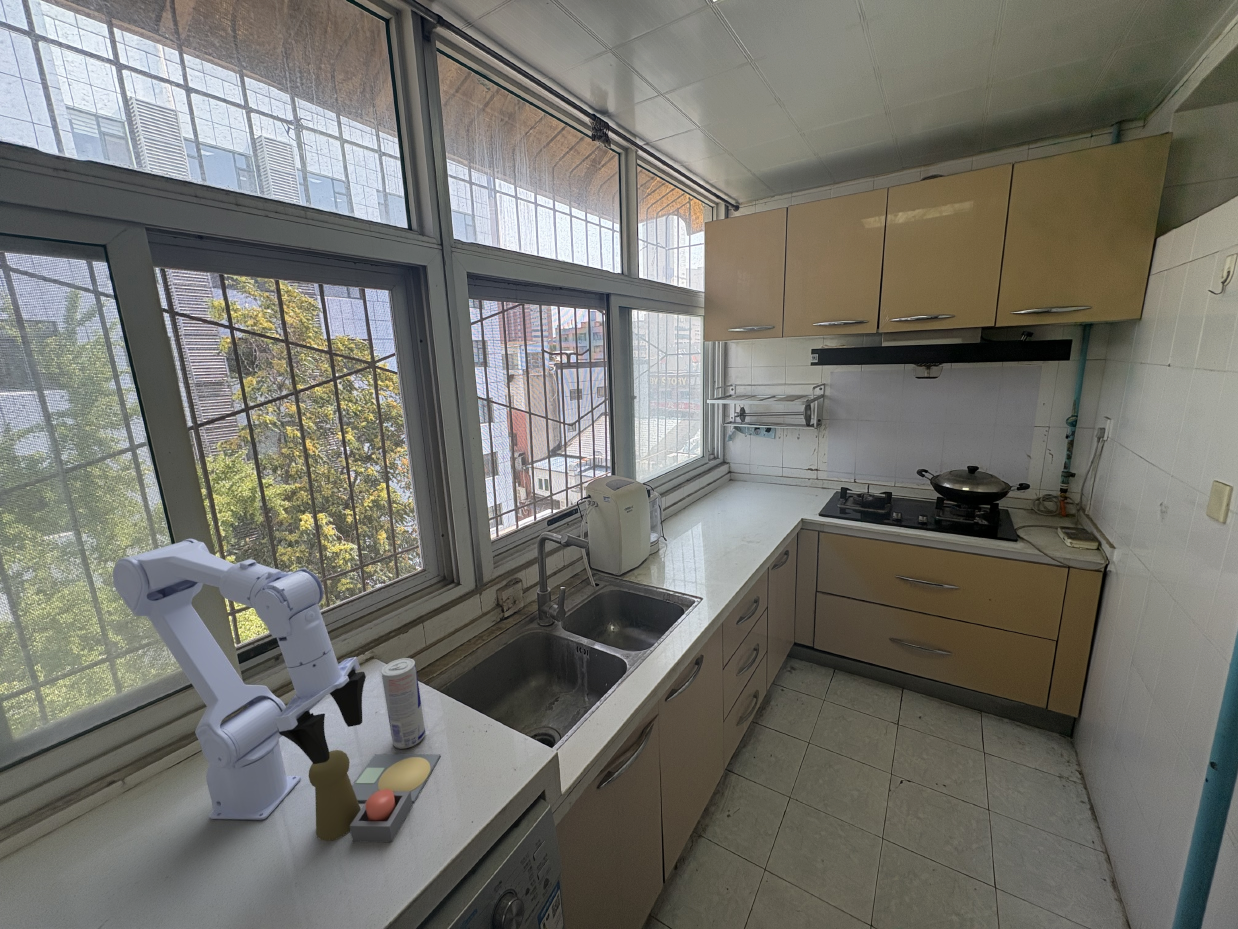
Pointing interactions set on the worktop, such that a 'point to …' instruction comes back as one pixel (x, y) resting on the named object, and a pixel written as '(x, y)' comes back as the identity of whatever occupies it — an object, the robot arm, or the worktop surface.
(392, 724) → the beverage can
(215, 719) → the robot arm
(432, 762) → the grey kitchen scale
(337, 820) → the olive knobbed peg
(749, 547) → the worktop surface
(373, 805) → the button
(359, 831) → the button housing
